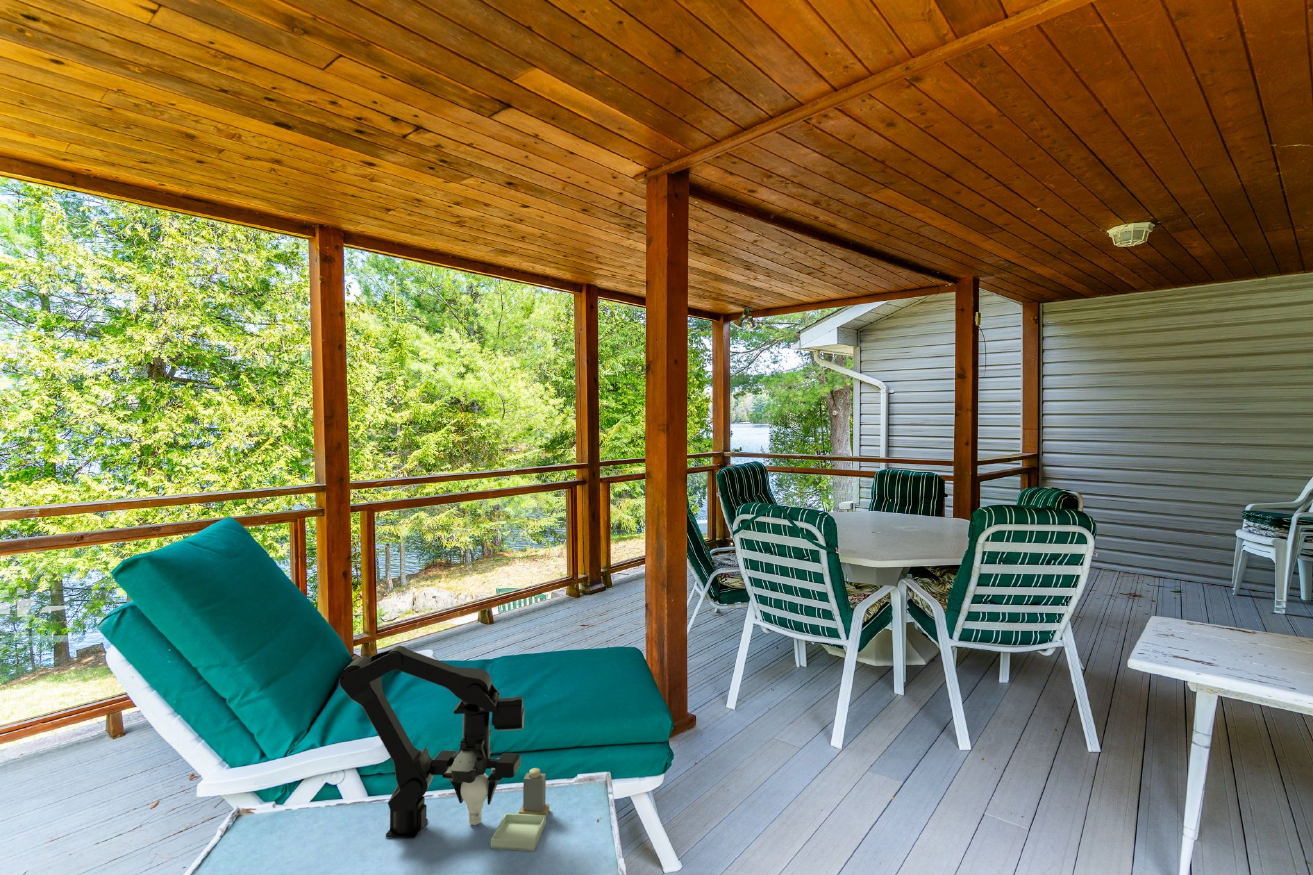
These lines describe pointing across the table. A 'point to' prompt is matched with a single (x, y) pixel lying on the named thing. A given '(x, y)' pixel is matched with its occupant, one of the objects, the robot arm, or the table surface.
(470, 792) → the lightbulb
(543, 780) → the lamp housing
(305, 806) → the table surface
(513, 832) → the tray
